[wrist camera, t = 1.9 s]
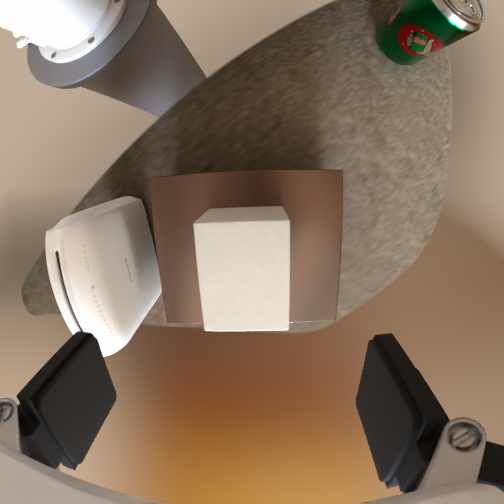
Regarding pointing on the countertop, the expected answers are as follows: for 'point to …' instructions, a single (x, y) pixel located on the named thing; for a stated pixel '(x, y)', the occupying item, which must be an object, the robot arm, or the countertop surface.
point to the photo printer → (104, 270)
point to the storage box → (252, 195)
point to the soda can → (427, 27)
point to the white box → (244, 268)
